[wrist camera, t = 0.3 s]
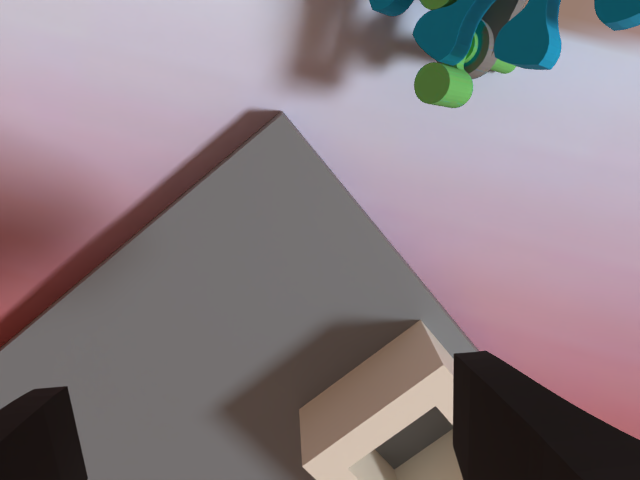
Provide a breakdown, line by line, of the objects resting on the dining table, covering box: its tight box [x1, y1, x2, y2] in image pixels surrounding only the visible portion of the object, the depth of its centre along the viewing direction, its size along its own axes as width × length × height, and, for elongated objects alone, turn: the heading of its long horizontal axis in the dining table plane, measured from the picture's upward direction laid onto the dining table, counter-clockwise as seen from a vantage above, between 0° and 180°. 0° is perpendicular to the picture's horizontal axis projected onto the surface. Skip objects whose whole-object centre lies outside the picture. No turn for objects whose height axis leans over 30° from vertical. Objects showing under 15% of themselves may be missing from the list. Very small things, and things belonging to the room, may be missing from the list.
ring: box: [299, 320, 463, 480], centre depth 20 cm, size 5×5×3 cm
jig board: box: [0, 111, 479, 480], centre depth 22 cm, size 16×23×1 cm
